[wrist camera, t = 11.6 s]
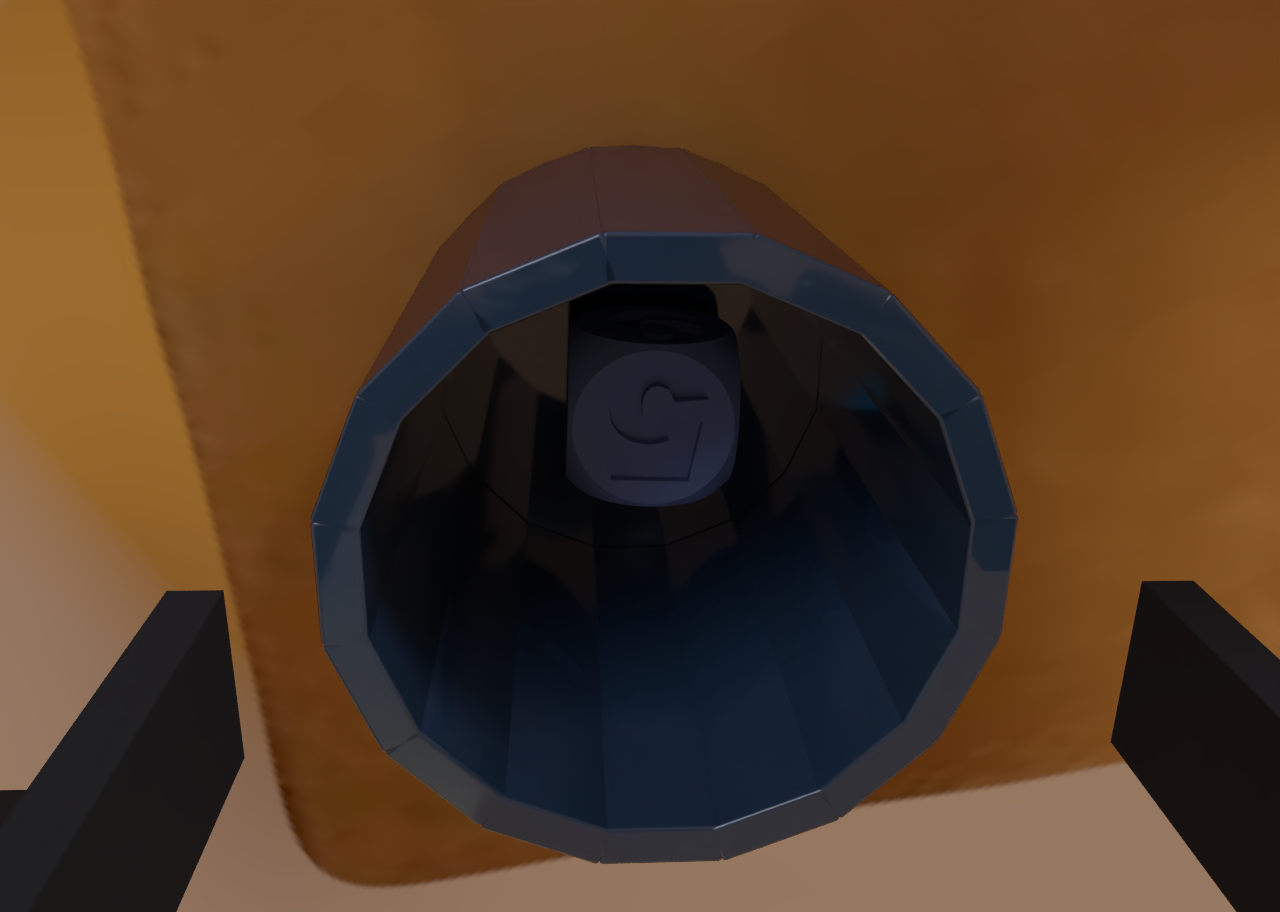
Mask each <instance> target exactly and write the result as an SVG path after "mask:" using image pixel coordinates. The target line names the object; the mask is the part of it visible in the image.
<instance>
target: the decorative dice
mask: <svg viewBox="0 0 1280 912" xmlns="http://www.w3.org/2000/svg"><path fill="white" fill-rule="evenodd" d="M739 420H740V361H739V351H738V344H737V338H736V335H735V332H734V330H733V329H732V328H731V326H730V325H729V324H728V323H727V322H725V321H724V320H722V319H720V318H718V317H715V316H712V315H709V314H706V313H702V312H698V311H693V310H688V309H682V308H675V307H665V306H649V305H627V306H612V307H604V308H598V309H593V310H589V311H586V312H584V313H581V314H579V315H578V316H577V317H576V318H575V319H573V320H572V321H571V322H570V323H569V343H568V380H567V424H566V477H567V478H568V479H569V480H570V481H571V482H572V483H573V484H574V485H575V486H576V487H577V488H578V489H580V490H581V491H583V492H584V493H586V494H588V495H591V496H593V497H596V498H598V499H602V500H605V501H609V502H613V503H618V504H624V505H632V506H645V507H662V506H674V505H681V504H686V503H691V502H694V501H698V500H700V499H703V498H705V497H707V496H709V495H710V494H712V493H713V492H714V491H716V490H717V489H718V488H719V487H721V486H722V485H723V484H724V483H725V482H726V481H727V480H728V479H729V478H730V476H731V474H732V471H733V467H734V462H735V457H736V451H737V443H738V433H739Z"/></svg>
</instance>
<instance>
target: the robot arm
mask: <svg viewBox="0 0 1280 912" xmlns="http://www.w3.org/2000/svg"><path fill="white" fill-rule="evenodd" d="M1111 743H1112V744H1113V745H1114V747H1115V748H1116V750H1117V751H1118V752H1119V754H1120V755H1121V756H1122V758H1123V759H1124V760H1125V762H1126V763H1127V764H1128V766H1129V767H1130V768H1131V770H1132V771H1133V772H1134V774H1135V775H1136V776H1137V778H1138V779H1139V781H1140V782H1141V783H1142V785H1143V786H1144V787H1145V789H1146V790H1147V791H1148V793H1149V794H1150V795H1151V797H1152V798H1153V799H1154V801H1155V802H1156V803H1157V805H1158V806H1159V808H1160V809H1161V810H1162V812H1163V813H1164V814H1165V816H1166V817H1167V818H1168V820H1169V821H1170V823H1171V824H1172V825H1173V827H1174V828H1175V829H1176V830H1177V832H1178V833H1179V835H1180V836H1181V837H1182V839H1183V840H1184V841H1185V843H1186V844H1187V846H1188V847H1189V848H1190V850H1191V851H1192V852H1193V854H1194V855H1195V856H1196V858H1197V859H1198V860H1199V862H1200V863H1201V865H1202V866H1203V867H1204V869H1205V870H1206V871H1207V872H1208V874H1209V875H1210V876H1211V878H1212V879H1213V881H1214V882H1215V883H1216V885H1217V886H1218V888H1219V889H1220V890H1221V892H1222V893H1223V894H1224V896H1225V897H1226V898H1227V900H1228V901H1229V902H1230V904H1231V905H1232V906H1233V908H1234V909H1235V910H1236V912H1280V660H1279V659H1278V658H1277V657H1276V656H1275V655H1274V654H1273V653H1272V652H1271V651H1270V650H1269V649H1267V648H1266V647H1265V646H1264V645H1263V644H1262V643H1261V642H1260V641H1259V640H1258V639H1256V638H1255V637H1254V636H1253V635H1252V634H1251V633H1250V632H1249V631H1248V630H1247V629H1246V628H1244V627H1243V626H1242V625H1241V624H1240V623H1239V622H1238V621H1237V620H1236V619H1235V618H1233V617H1232V616H1231V615H1230V614H1229V613H1228V612H1227V611H1226V610H1225V609H1224V608H1223V607H1221V606H1220V605H1219V604H1218V603H1217V602H1216V601H1215V600H1214V599H1213V598H1212V597H1210V596H1209V595H1208V594H1207V593H1206V592H1205V591H1204V590H1203V589H1202V588H1201V587H1200V586H1198V585H1197V584H1196V583H1195V582H1194V581H1142V584H1141V589H1140V594H1139V599H1138V605H1137V610H1136V615H1135V620H1134V625H1133V630H1132V635H1131V640H1130V646H1129V651H1128V656H1127V661H1126V666H1125V671H1124V676H1123V682H1122V687H1121V692H1120V697H1119V702H1118V707H1117V712H1116V718H1115V723H1114V728H1113V733H1112V738H1111ZM243 760H244V750H243V743H242V735H241V727H240V719H239V711H238V703H237V695H236V688H235V680H234V671H233V664H232V656H231V648H230V640H229V632H228V624H227V616H226V608H225V600H224V593H223V590H220V591H218V590H217V591H166V593H165V594H164V596H163V597H162V598H161V600H160V601H159V603H158V604H157V606H156V607H155V608H154V610H153V611H152V613H151V614H150V616H149V617H148V618H147V620H146V621H145V623H144V624H143V625H142V627H141V629H140V630H139V631H138V633H137V634H136V636H135V637H134V638H133V640H132V641H131V643H130V644H129V645H128V647H127V648H126V650H125V651H124V652H123V654H122V655H121V657H120V658H119V660H118V661H117V662H116V664H115V665H114V667H113V668H112V670H111V671H110V672H109V674H108V675H107V677H106V678H105V679H104V681H103V682H102V684H101V685H100V687H99V688H98V690H97V691H96V692H95V694H94V695H93V697H92V698H91V699H90V701H89V702H88V704H87V705H86V707H85V708H84V709H83V711H82V712H81V714H80V715H79V716H78V718H77V719H76V721H75V722H74V723H73V725H72V726H71V728H70V729H69V731H68V732H67V733H66V735H65V736H64V738H63V739H62V741H61V742H60V743H59V745H58V746H57V748H56V749H55V751H54V752H53V753H52V755H51V756H50V758H49V759H48V760H47V762H46V763H45V765H44V766H43V767H42V769H41V770H40V772H39V773H38V775H37V776H36V777H35V779H34V780H33V782H32V783H31V785H30V786H29V787H28V789H27V790H2V791H1V790H0V912H176V911H177V909H178V906H179V904H180V902H181V900H182V898H183V895H184V893H185V891H186V889H187V886H188V884H189V882H190V879H191V877H192V875H193V872H194V870H195V868H196V866H197V863H198V861H199V859H200V857H201V855H202V852H203V850H204V848H205V846H206V843H207V841H208V839H209V836H210V834H211V832H212V829H213V827H214V825H215V823H216V821H217V818H218V816H219V814H220V811H221V809H222V807H223V805H224V802H225V800H226V798H227V796H228V793H229V791H230V789H231V786H232V784H233V782H234V780H235V778H236V775H237V773H238V771H239V769H240V766H241V764H242V762H243Z"/></svg>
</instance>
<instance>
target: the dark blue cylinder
mask: <svg viewBox="0 0 1280 912" xmlns="http://www.w3.org/2000/svg"><path fill="white" fill-rule="evenodd" d="M627 305H649V306H665V307H675V308H682V309H688V310H693V311H698V312H702V313H706V314H709V315H712V316H715V317H718V318H720V319H722V320H724V321H725V322H727V323H728V324H729V325H730V326H731V328H732V329H733V330H734V332H735V335H736V338H737V344H738V351H739V361H740V420H739V433H738V443H737V451H736V457H735V462H734V467H733V471H732V474H731V476H730V478H729V479H728V480H727V481H726V482H725V483H724V484H723V485H722V486H721V487H719V488H718V489H717V490H716V491H714V492H713V493H712V494H710V495H709V496H707V497H705V498H703V499H700V500H698V501H694V502H691V503H686V504H681V505H674V506H662V507H645V506H632V505H624V504H618V503H613V502H609V501H605V500H602V499H598V498H596V497H593V496H591V495H588V494H586V493H584V492H583V491H581V490H580V489H578V488H577V487H576V486H575V485H574V484H573V483H572V482H571V481H570V480H569V479H568V478H567V477H566V424H567V380H568V343H569V323H570V322H571V321H572V320H573V319H575V318H576V317H577V316H578V315H579V314H581V313H584V312H586V311H589V310H593V309H598V308H604V307H612V306H627ZM311 521H312V522H311V536H312V547H313V558H314V568H315V579H316V590H317V600H318V611H319V622H320V633H321V642H322V644H323V646H324V651H325V653H326V655H327V656H328V658H329V660H330V662H331V663H332V665H333V667H334V669H335V670H336V672H337V674H338V675H339V677H340V679H341V681H342V682H343V684H344V686H345V688H346V689H347V691H348V693H349V695H350V696H351V698H352V700H353V701H354V703H355V705H356V707H357V708H358V710H359V712H360V714H361V715H362V717H363V719H364V720H365V722H366V724H367V726H368V727H369V729H370V731H371V733H372V734H373V736H374V738H375V740H376V741H377V743H378V745H379V746H380V748H381V750H382V751H383V752H386V754H387V756H388V757H389V758H391V759H392V760H393V761H395V762H396V763H397V764H399V765H400V766H401V767H402V768H404V769H405V770H406V771H408V772H409V773H410V774H412V775H413V776H414V777H416V778H417V779H418V780H419V781H421V782H422V783H423V784H425V785H426V786H427V787H429V788H430V789H431V790H433V791H434V792H435V793H436V794H438V795H439V796H440V797H442V798H443V799H444V800H446V801H447V802H448V803H450V804H451V805H452V806H453V807H455V808H456V809H457V810H459V811H460V812H461V813H463V814H464V815H465V816H467V817H468V818H469V819H470V820H472V821H473V822H474V823H476V824H477V825H482V828H484V829H486V830H489V831H492V832H495V833H499V834H502V835H505V836H508V837H512V838H515V839H518V840H521V841H525V842H528V843H531V844H534V845H537V846H541V847H544V848H547V849H550V850H554V851H557V852H560V853H563V854H567V855H570V856H573V857H576V858H580V859H583V860H586V861H590V862H593V863H598V862H599V861H600V863H602V864H614V863H615V864H617V863H653V862H690V861H691V862H692V861H719V860H721V859H722V858H723V859H724V860H728V859H730V858H733V857H736V856H739V855H741V854H744V853H747V852H750V851H753V850H756V849H758V848H761V847H764V846H767V845H770V844H772V843H775V842H778V841H781V840H784V839H786V838H789V837H792V836H795V835H798V834H800V833H803V832H806V831H809V830H811V829H814V828H817V827H820V826H823V825H825V824H828V823H831V822H834V821H837V820H838V819H839V817H843V816H845V815H846V814H847V813H848V812H850V811H851V810H852V809H853V808H855V807H856V806H857V805H858V804H860V803H861V802H862V801H863V800H865V799H866V798H867V797H868V796H870V795H871V794H872V793H874V792H875V791H876V790H877V789H879V788H880V787H881V786H882V785H884V784H885V783H886V782H887V781H889V780H890V779H891V778H892V777H894V776H895V775H896V774H897V773H899V772H900V771H901V770H903V769H904V768H905V767H906V766H908V765H909V764H910V763H911V762H913V761H914V760H915V759H916V758H918V757H919V756H920V755H921V754H923V753H924V752H925V751H926V750H928V749H929V748H930V747H932V746H933V745H934V743H935V741H938V740H939V739H940V737H941V735H942V734H943V732H944V730H945V729H946V727H947V725H948V724H949V722H950V720H951V719H952V717H953V715H954V714H955V712H956V710H957V709H958V707H959V705H960V704H961V702H962V701H963V699H964V697H965V696H966V694H967V692H968V691H969V689H970V687H971V686H972V684H973V682H974V681H975V679H976V677H977V676H978V674H979V672H980V671H981V669H982V667H983V666H984V664H985V662H986V661H987V659H988V657H989V656H990V654H991V653H992V651H993V649H994V648H995V646H996V644H997V643H998V641H999V637H1000V636H1001V632H1002V625H1003V618H1004V611H1005V605H1006V598H1007V591H1008V584H1009V577H1010V571H1011V564H1012V557H1013V550H1014V543H1015V536H1016V530H1017V523H1018V516H1017V509H1016V505H1015V502H1014V499H1013V495H1012V492H1011V488H1010V485H1009V482H1008V478H1007V475H1006V472H1005V468H1004V465H1003V462H1002V458H1001V455H1000V451H999V448H998V445H997V441H996V438H995V435H994V431H993V428H992V424H991V421H990V418H989V414H988V411H987V408H986V404H985V401H984V397H983V396H982V395H981V394H980V391H979V388H978V387H977V386H976V385H975V384H974V383H973V382H972V381H971V379H970V378H969V377H968V376H967V375H966V374H965V373H964V372H963V371H962V369H961V368H960V367H959V366H958V365H957V364H956V363H955V362H954V361H953V359H952V358H951V357H950V356H949V355H948V354H947V353H946V352H945V351H944V349H943V348H942V347H941V346H940V345H939V344H938V343H937V342H936V341H935V339H934V338H933V337H932V336H931V335H930V334H929V333H928V332H927V331H926V329H925V328H924V327H923V326H922V325H921V324H920V323H919V322H918V321H917V319H916V318H915V317H914V316H913V315H912V314H911V313H910V312H909V311H908V309H907V308H906V307H905V306H904V305H903V304H902V303H901V302H900V301H899V299H898V298H897V297H896V296H895V295H894V294H893V293H892V292H891V291H889V290H888V289H887V288H886V287H885V286H883V285H882V284H881V283H880V282H879V281H878V280H876V279H875V278H874V277H873V276H872V275H871V274H869V273H868V272H867V271H866V270H865V269H863V268H862V267H861V266H860V265H859V264H858V263H856V262H855V261H854V260H853V259H852V258H851V257H849V256H848V255H847V254H846V253H845V252H843V251H842V250H841V249H840V248H839V247H838V246H836V245H835V244H834V243H833V242H832V241H831V240H829V239H828V238H827V237H826V236H825V235H823V234H822V233H821V232H820V231H819V230H818V229H816V228H815V227H814V226H813V225H812V224H810V223H809V222H808V221H807V220H806V219H805V218H803V217H802V216H801V215H800V214H799V213H798V212H796V211H795V210H794V209H793V208H792V207H790V206H789V205H788V204H787V203H786V202H785V201H783V200H782V199H781V198H780V197H779V196H778V195H776V194H775V193H774V192H773V191H772V190H770V189H769V188H768V187H767V186H765V185H764V184H762V183H760V182H757V181H755V180H753V179H751V178H748V177H746V176H744V175H742V174H740V173H737V172H735V171H733V170H732V169H730V168H728V167H726V166H724V165H722V164H719V163H717V162H714V161H711V160H708V159H706V158H704V157H701V156H699V155H697V154H695V153H692V152H690V151H688V150H686V149H680V148H661V147H648V146H636V145H633V146H615V147H590V148H589V149H588V148H585V149H582V150H580V151H578V152H575V153H572V154H569V155H566V156H563V157H560V158H557V159H555V160H552V161H549V162H546V163H544V164H542V165H540V166H537V167H535V168H533V169H531V170H529V171H527V172H525V173H523V174H521V175H519V176H517V177H515V178H512V179H510V180H508V181H505V182H504V183H503V184H500V185H499V186H498V187H497V188H496V189H495V190H494V191H493V192H492V193H491V195H490V196H489V197H488V198H487V199H486V200H485V201H484V202H483V203H482V204H480V205H479V206H478V207H477V208H476V209H475V210H474V211H473V212H472V213H471V214H470V215H469V216H468V217H467V218H466V220H465V221H464V222H463V223H462V224H461V225H460V226H459V228H458V229H457V230H456V231H455V232H454V233H453V234H452V235H451V236H450V237H449V238H448V239H447V240H446V241H445V242H444V243H443V244H442V245H441V246H440V247H439V249H438V250H437V252H436V254H435V255H434V257H433V259H432V261H431V263H430V264H429V266H428V268H427V270H426V271H425V273H424V275H423V277H422V279H421V280H420V282H419V284H418V286H417V287H416V289H415V291H414V293H413V295H412V296H411V298H410V300H409V302H408V303H407V305H406V307H405V309H404V311H403V312H402V314H401V316H400V318H399V319H398V321H397V323H396V325H395V326H394V328H393V330H392V332H391V334H390V335H389V337H388V339H387V341H386V342H385V344H384V346H383V348H382V350H381V351H380V353H379V355H378V357H377V358H376V360H375V362H374V364H373V366H372V367H371V369H370V371H369V373H368V374H367V376H366V378H365V380H364V382H363V383H362V385H361V387H360V389H359V390H358V392H357V394H356V396H355V398H354V401H353V403H352V406H351V409H350V412H349V414H348V417H347V420H346V422H345V425H344V428H343V431H342V433H341V436H340V439H339V442H338V444H337V447H336V450H335V453H334V455H333V458H332V461H331V464H330V466H329V469H328V472H327V474H326V477H325V480H324V483H323V485H322V488H321V491H320V494H319V496H318V499H317V502H316V505H315V507H314V510H313V513H312V516H311Z"/></svg>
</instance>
